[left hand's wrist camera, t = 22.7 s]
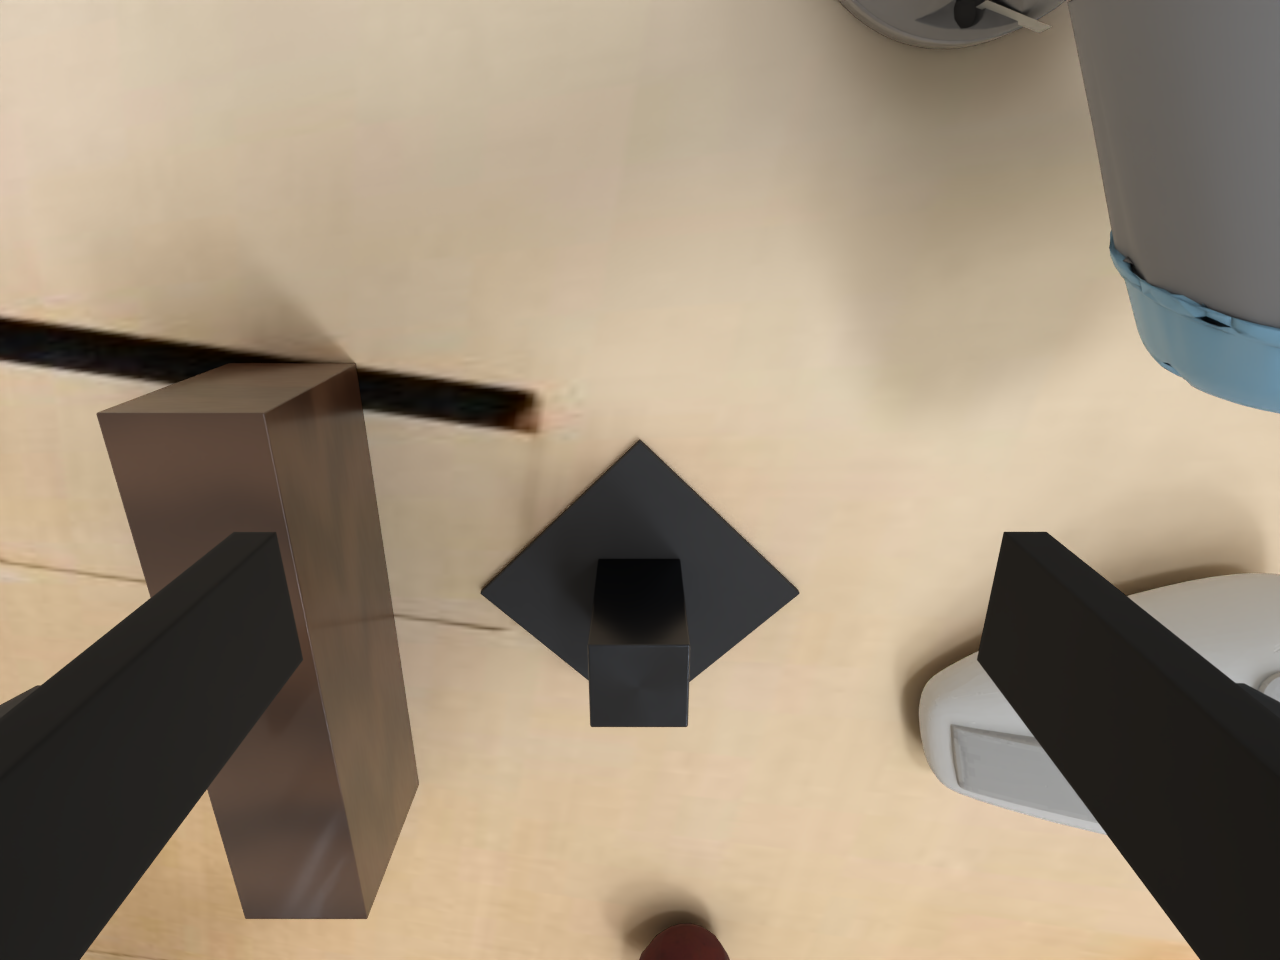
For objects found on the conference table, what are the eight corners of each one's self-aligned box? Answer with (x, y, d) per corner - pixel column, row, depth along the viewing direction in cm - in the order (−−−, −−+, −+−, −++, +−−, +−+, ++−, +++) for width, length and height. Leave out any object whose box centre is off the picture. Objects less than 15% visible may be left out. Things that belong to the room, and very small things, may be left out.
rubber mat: (640, 439, 40) (640, 441, 39) (798, 590, 43) (799, 593, 43) (481, 590, 43) (480, 593, 43) (640, 717, 47) (640, 721, 47)
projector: (1090, 458, 40) (1324, 587, 26) (1372, 616, 44) (1703, 800, 30) (871, 730, 47) (965, 943, 33) (1130, 845, 51) (1309, 1078, 37)
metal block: (597, 558, 42) (587, 645, 34) (680, 558, 42) (690, 645, 34) (599, 628, 44) (590, 727, 36) (678, 628, 44) (687, 727, 36)
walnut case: (228, 362, 38) (95, 412, 29) (356, 363, 38) (264, 413, 29) (320, 784, 49) (244, 919, 40) (419, 784, 49) (367, 919, 40)
